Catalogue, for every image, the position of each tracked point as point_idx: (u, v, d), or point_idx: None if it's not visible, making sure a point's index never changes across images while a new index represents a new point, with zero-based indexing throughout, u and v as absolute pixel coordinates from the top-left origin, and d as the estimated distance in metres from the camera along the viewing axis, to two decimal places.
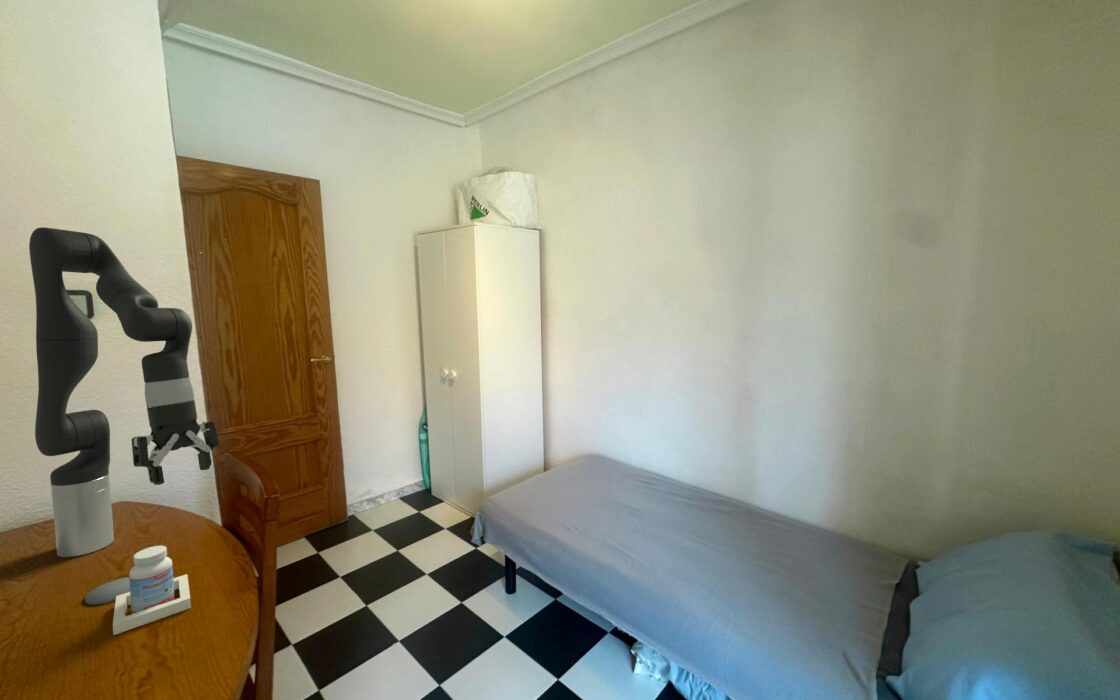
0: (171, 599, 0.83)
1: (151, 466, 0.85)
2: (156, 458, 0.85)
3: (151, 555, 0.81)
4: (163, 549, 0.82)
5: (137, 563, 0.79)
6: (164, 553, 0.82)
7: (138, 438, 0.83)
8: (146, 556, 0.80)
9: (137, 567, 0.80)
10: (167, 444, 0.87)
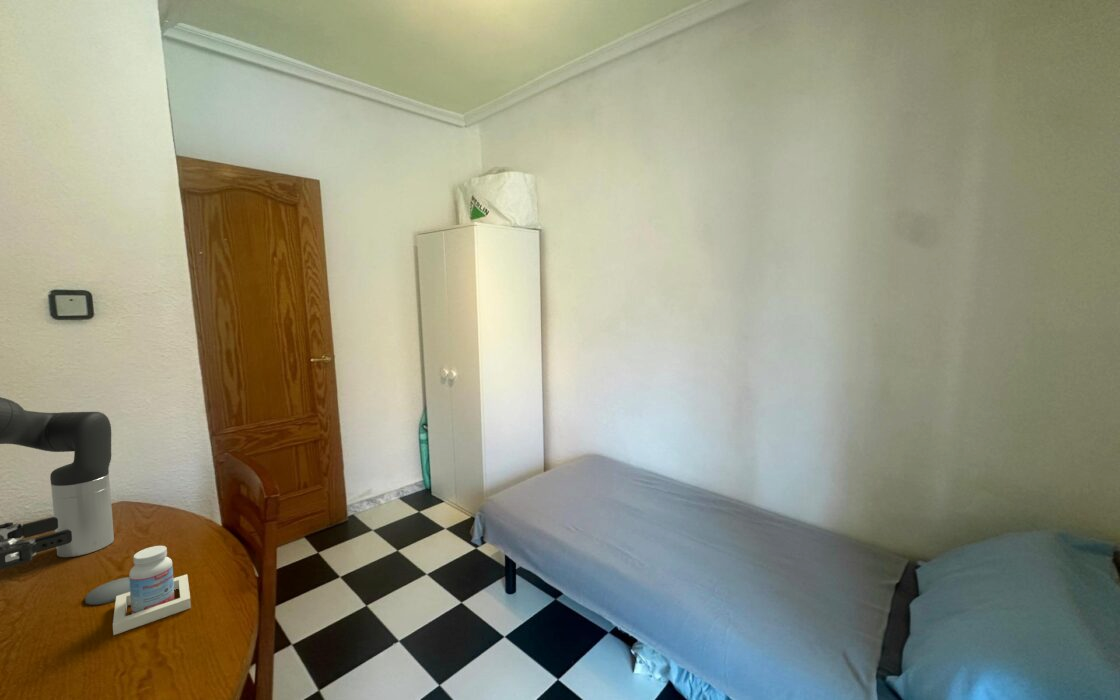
0: (171, 599, 0.83)
1: None
2: None
3: (150, 555, 0.81)
4: (163, 549, 0.82)
5: (137, 563, 0.79)
6: (164, 553, 0.82)
7: None
8: (146, 556, 0.80)
9: (137, 567, 0.80)
10: None
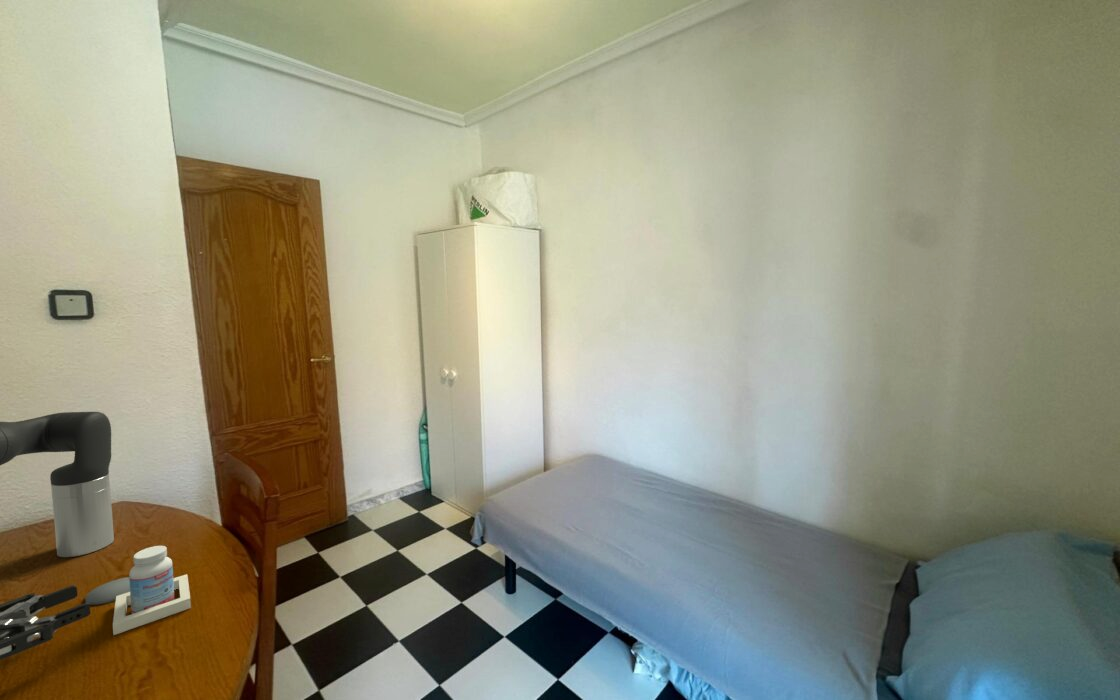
0: (171, 599, 0.83)
1: None
2: None
3: (151, 555, 0.81)
4: (163, 549, 0.82)
5: (137, 563, 0.79)
6: (164, 553, 0.82)
7: None
8: (146, 556, 0.80)
9: (137, 567, 0.80)
10: None
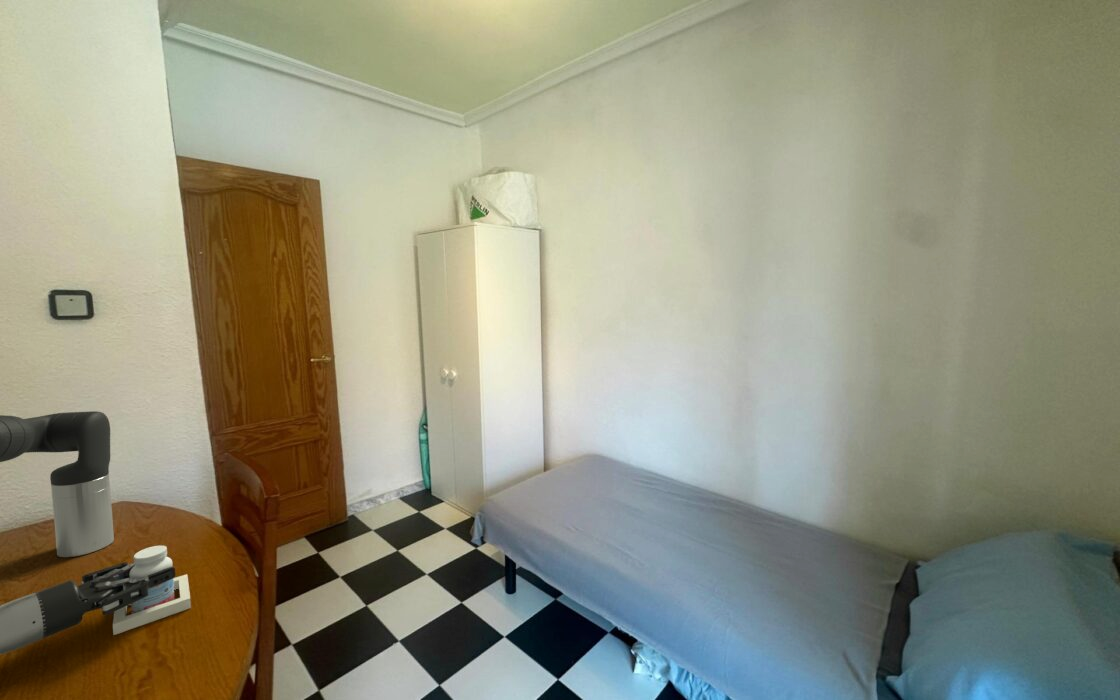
0: (171, 599, 0.83)
1: None
2: None
3: (151, 554, 0.81)
4: (163, 549, 0.82)
5: (137, 563, 0.79)
6: (164, 553, 0.82)
7: None
8: (146, 556, 0.80)
9: (137, 567, 0.80)
10: None
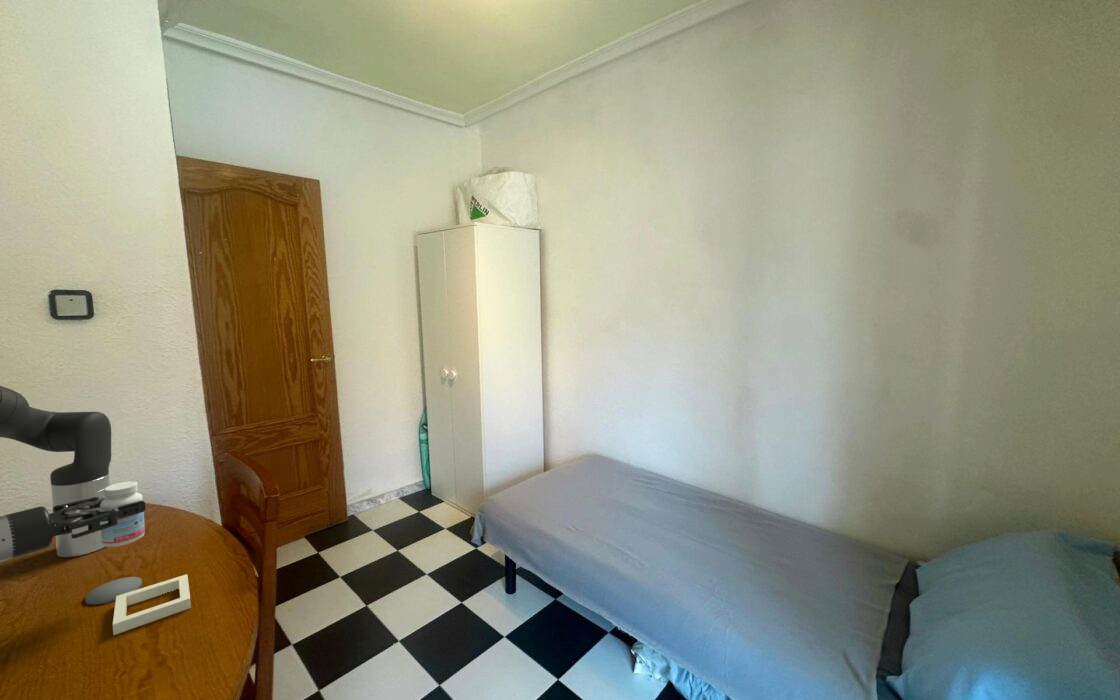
0: (141, 533, 0.86)
1: None
2: None
3: (121, 488, 0.83)
4: (134, 484, 0.85)
5: (107, 495, 0.82)
6: (135, 487, 0.85)
7: None
8: (116, 488, 0.83)
9: (107, 499, 0.82)
10: None
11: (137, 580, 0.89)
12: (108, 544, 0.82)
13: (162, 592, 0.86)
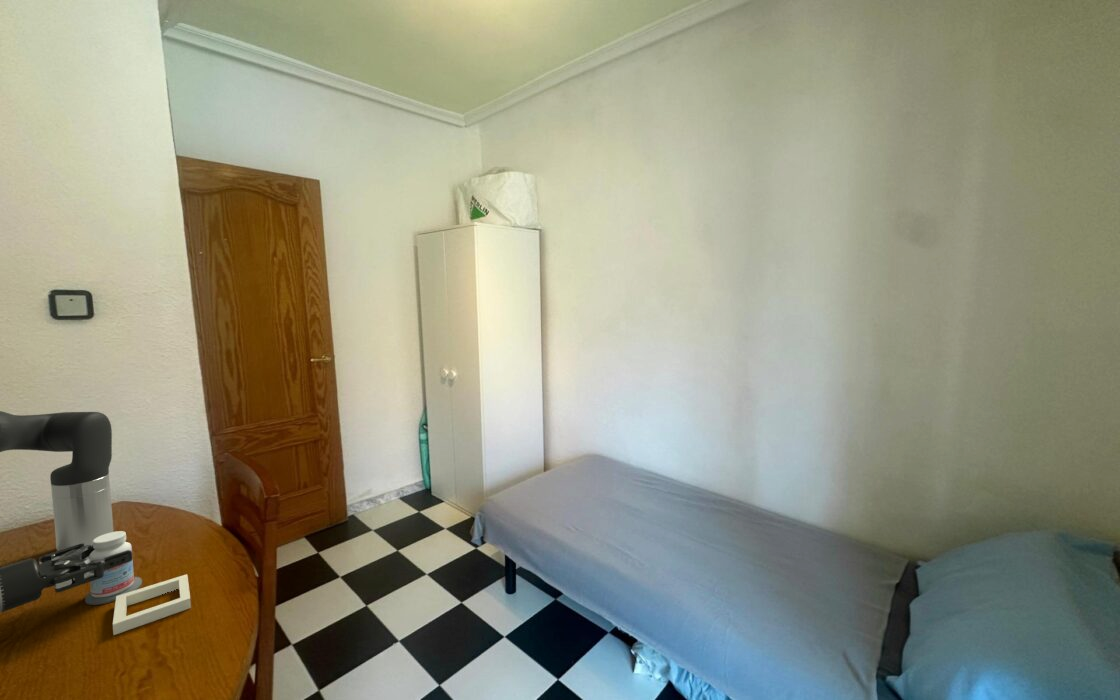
0: (130, 582, 0.87)
1: None
2: None
3: (109, 539, 0.85)
4: (122, 534, 0.86)
5: (96, 547, 0.83)
6: (123, 538, 0.86)
7: None
8: (105, 540, 0.84)
9: (96, 551, 0.84)
10: None
11: (137, 580, 0.89)
12: (97, 595, 0.83)
13: (162, 592, 0.86)
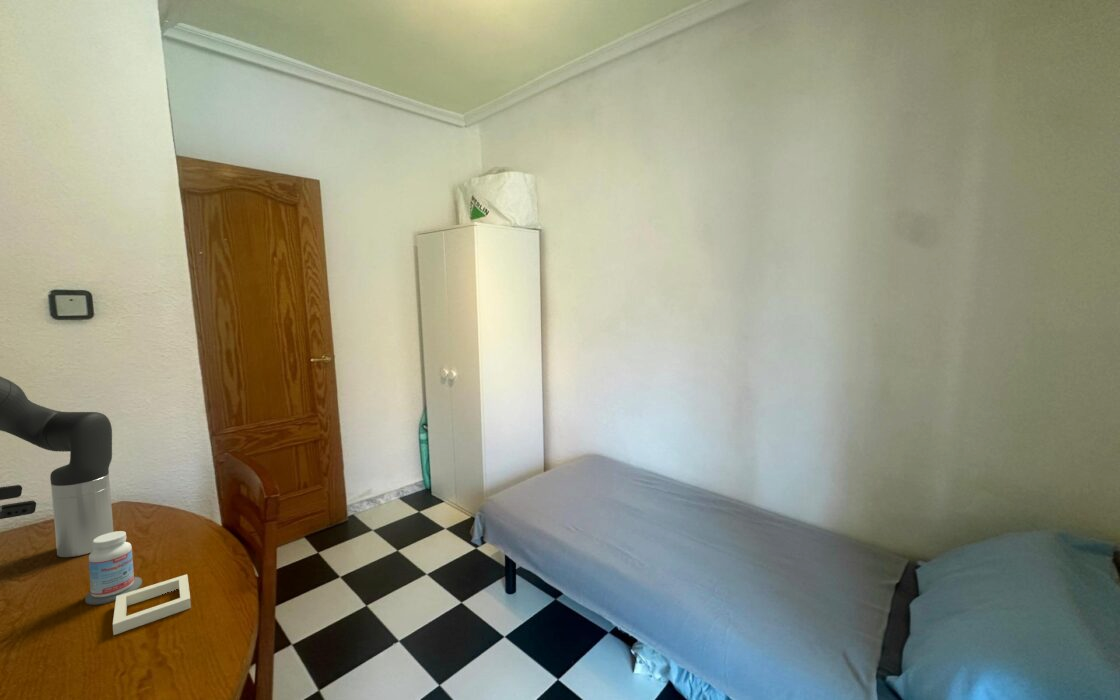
0: (130, 582, 0.87)
1: None
2: None
3: (109, 539, 0.85)
4: (122, 534, 0.87)
5: (96, 547, 0.84)
6: (123, 538, 0.86)
7: None
8: (105, 540, 0.84)
9: (96, 551, 0.84)
10: None
11: (137, 580, 0.89)
12: (97, 595, 0.83)
13: (162, 592, 0.86)
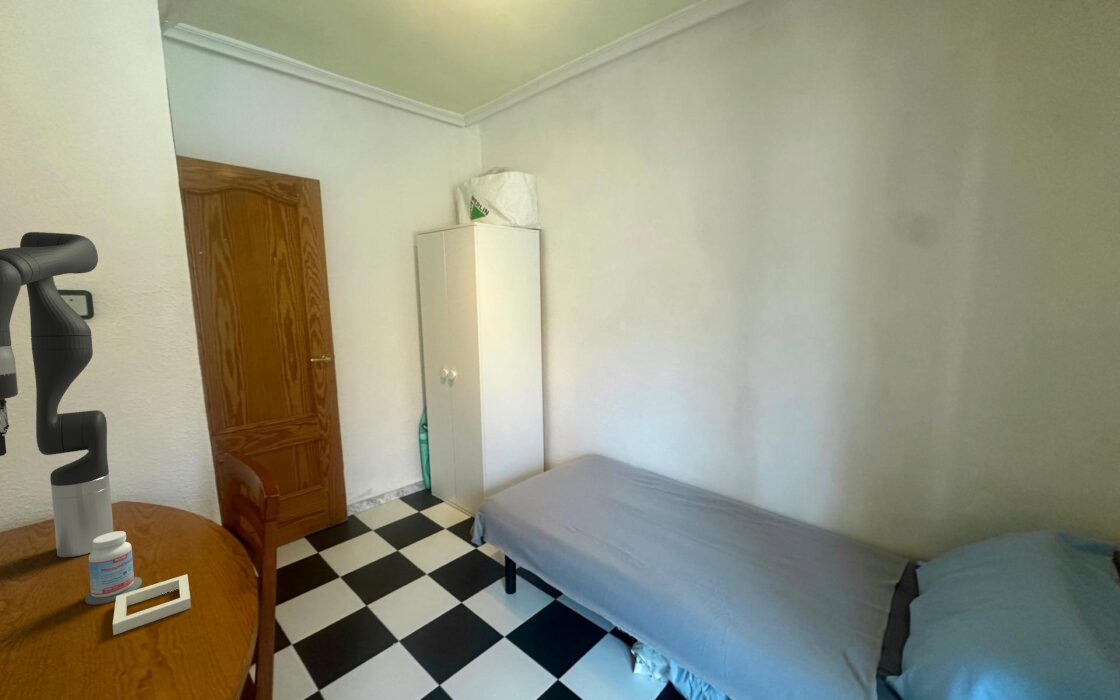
0: (130, 582, 0.87)
1: None
2: None
3: (109, 539, 0.85)
4: (122, 534, 0.86)
5: (96, 547, 0.83)
6: (123, 538, 0.86)
7: None
8: (104, 540, 0.84)
9: (96, 551, 0.84)
10: None
11: (137, 580, 0.89)
12: (97, 595, 0.83)
13: (162, 592, 0.86)
